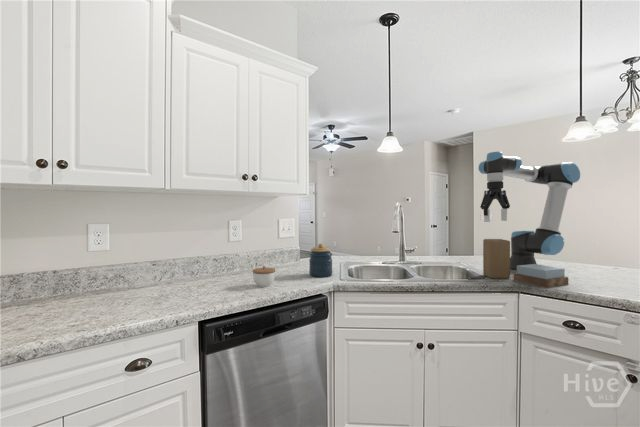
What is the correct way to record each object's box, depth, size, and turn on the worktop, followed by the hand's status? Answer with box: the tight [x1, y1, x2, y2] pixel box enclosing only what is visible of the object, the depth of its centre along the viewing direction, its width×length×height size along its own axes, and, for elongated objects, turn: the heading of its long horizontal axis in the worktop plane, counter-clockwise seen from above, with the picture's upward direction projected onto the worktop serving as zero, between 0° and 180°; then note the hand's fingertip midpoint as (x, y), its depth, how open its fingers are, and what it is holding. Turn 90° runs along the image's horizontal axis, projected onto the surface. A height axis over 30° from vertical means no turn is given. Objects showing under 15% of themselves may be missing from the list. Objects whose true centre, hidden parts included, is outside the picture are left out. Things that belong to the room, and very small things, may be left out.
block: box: [482, 238, 511, 280], centre depth 164 cm, size 10×10×20 cm
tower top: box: [516, 263, 566, 279], centre depth 152 cm, size 14×14×4 cm
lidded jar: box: [252, 265, 276, 288], centre depth 148 cm, size 11×11×9 cm
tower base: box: [513, 272, 569, 288], centre depth 152 cm, size 16×16×4 cm
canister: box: [308, 243, 333, 278], centre depth 171 cm, size 13×13×18 cm
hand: (495, 221), depth 163 cm, fingers open, 13 cm apart
